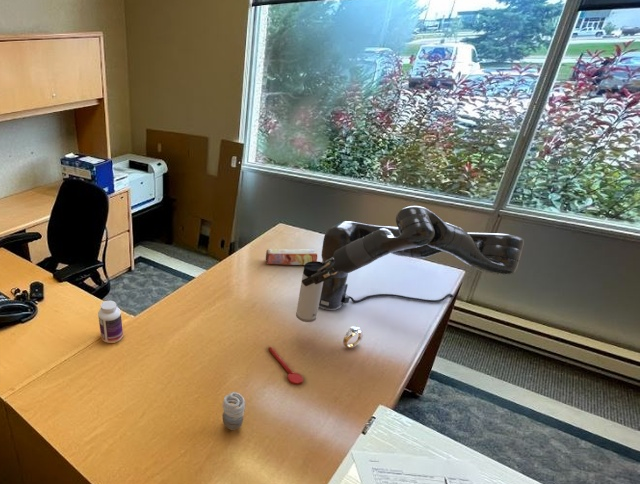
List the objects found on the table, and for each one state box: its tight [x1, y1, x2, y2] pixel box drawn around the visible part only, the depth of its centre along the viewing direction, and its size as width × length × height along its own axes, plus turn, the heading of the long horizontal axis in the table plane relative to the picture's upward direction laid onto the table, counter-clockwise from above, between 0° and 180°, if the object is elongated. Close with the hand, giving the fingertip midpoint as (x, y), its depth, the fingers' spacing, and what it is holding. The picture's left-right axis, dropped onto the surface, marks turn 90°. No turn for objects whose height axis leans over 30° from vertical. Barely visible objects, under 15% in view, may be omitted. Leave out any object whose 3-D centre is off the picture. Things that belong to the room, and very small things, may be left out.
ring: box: [342, 326, 364, 349], centre depth 136 cm, size 7×3×8 cm, turn 104°
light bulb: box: [222, 391, 246, 431], centre depth 110 cm, size 6×6×12 cm
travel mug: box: [295, 260, 325, 323], centre depth 132 cm, size 6×7×20 cm
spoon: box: [268, 346, 304, 386], centre depth 132 cm, size 17×4×1 cm, turn 14°
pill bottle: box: [97, 300, 124, 344], centre depth 147 cm, size 8×8×14 cm
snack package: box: [265, 248, 318, 266], centre depth 187 cm, size 21×7×7 cm, turn 79°
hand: (307, 278), depth 131 cm, fingers closed on travel mug, 6 cm apart
